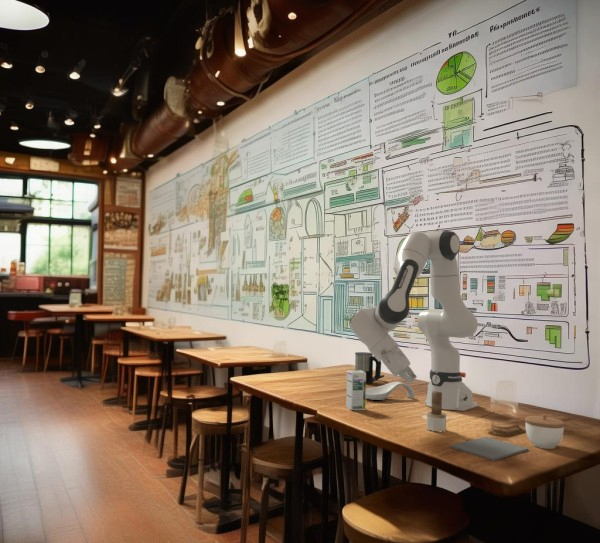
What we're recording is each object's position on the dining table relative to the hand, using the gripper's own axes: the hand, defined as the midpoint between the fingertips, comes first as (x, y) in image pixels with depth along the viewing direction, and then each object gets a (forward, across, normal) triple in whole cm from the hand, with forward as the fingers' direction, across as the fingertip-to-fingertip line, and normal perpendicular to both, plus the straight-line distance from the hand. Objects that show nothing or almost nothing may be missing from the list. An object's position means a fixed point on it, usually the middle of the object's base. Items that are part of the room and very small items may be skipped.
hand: (413, 380), depth 175 cm
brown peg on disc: (+13, 0, +2) cm, 13 cm away
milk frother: (-12, +84, +34) cm, 92 cm away
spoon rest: (0, +45, +22) cm, 50 cm away
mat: (+28, -15, -6) cm, 32 cm away
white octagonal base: (+16, 0, +5) cm, 17 cm away
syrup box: (-6, +18, +28) cm, 33 cm away
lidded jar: (+39, -4, -17) cm, 43 cm away
